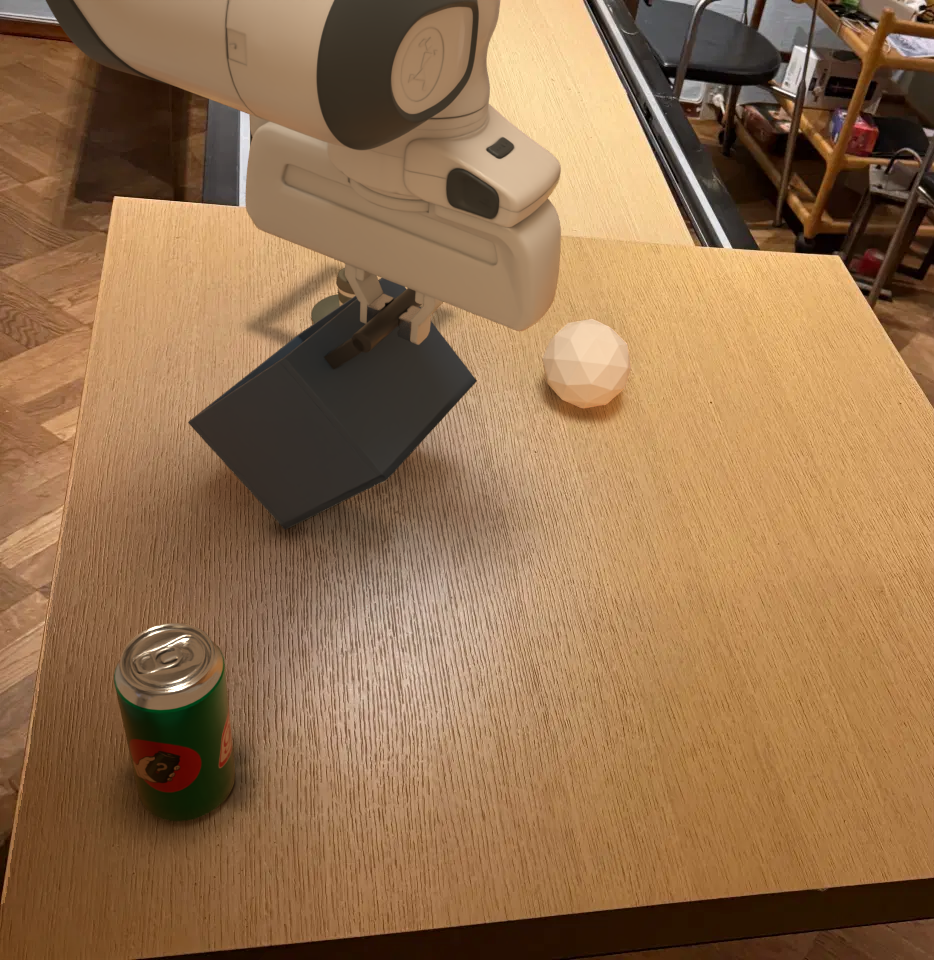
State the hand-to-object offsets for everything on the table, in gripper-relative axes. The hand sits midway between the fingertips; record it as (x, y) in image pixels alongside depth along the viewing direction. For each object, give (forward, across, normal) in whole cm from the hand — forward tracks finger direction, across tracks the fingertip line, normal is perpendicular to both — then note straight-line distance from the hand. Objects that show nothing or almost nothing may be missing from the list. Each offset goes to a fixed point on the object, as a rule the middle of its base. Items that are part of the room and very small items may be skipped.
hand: (395, 329), depth 67 cm
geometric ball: (+16, +8, +21) cm, 27 cm away
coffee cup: (+16, -14, +19) cm, 28 cm away
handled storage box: (+10, +1, 0) cm, 10 cm away
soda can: (+16, +3, -26) cm, 31 cm away
